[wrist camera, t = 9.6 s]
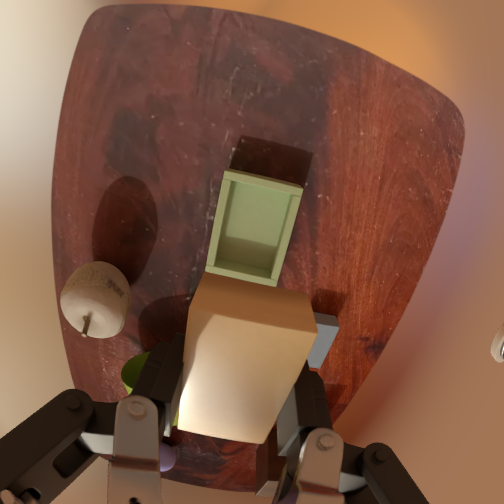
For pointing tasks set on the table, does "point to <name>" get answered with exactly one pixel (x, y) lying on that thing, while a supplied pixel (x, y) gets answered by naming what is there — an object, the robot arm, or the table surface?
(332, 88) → the table surface
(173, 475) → the table surface
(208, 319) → the birch pad
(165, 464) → the sphere
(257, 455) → the stand
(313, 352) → the rubber pad
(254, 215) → the olive green tray
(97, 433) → the robot arm
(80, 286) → the decorative object
